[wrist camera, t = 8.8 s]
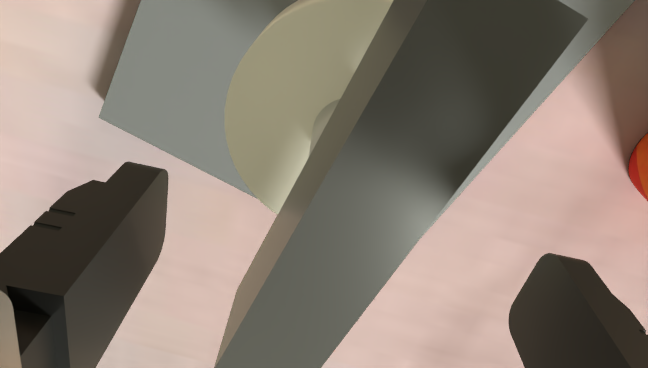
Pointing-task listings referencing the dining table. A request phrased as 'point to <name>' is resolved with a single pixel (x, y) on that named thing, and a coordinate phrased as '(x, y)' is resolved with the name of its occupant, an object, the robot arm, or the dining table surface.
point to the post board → (222, 61)
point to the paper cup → (640, 166)
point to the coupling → (365, 148)
